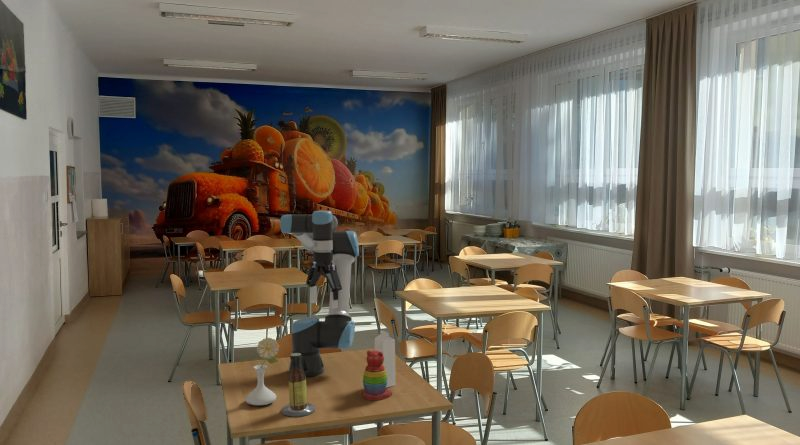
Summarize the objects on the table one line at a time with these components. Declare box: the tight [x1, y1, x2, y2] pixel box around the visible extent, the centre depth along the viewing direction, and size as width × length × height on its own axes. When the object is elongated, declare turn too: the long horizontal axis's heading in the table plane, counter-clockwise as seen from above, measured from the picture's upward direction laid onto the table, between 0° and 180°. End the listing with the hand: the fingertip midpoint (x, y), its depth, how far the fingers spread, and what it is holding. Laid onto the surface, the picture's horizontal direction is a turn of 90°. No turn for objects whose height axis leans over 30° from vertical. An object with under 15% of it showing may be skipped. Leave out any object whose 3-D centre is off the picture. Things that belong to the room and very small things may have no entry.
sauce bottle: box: [287, 353, 308, 410], centre depth 231 cm, size 6×6×20 cm
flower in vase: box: [245, 336, 280, 406], centre depth 239 cm, size 13×11×25 cm
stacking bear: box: [362, 350, 393, 401], centre depth 245 cm, size 11×10×18 cm
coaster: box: [281, 402, 316, 418], centre depth 231 cm, size 12×12×1 cm
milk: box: [374, 330, 396, 389], centre depth 257 cm, size 6×6×22 cm
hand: (323, 305), depth 247 cm, fingers open, 13 cm apart
